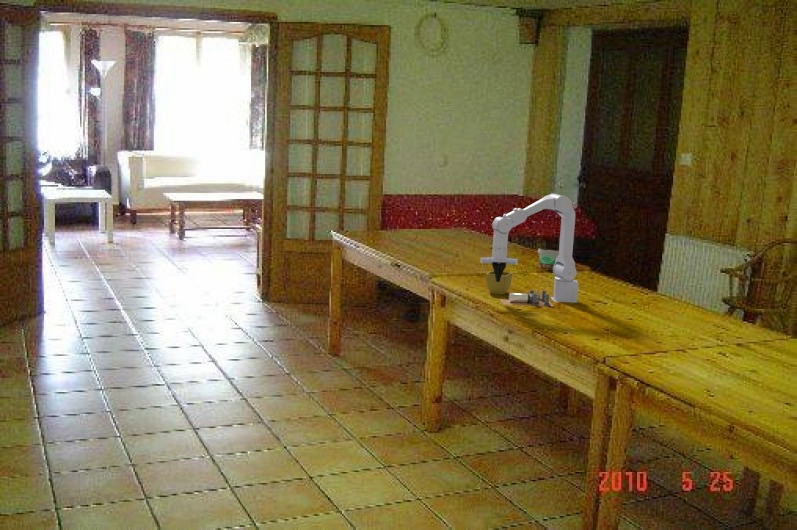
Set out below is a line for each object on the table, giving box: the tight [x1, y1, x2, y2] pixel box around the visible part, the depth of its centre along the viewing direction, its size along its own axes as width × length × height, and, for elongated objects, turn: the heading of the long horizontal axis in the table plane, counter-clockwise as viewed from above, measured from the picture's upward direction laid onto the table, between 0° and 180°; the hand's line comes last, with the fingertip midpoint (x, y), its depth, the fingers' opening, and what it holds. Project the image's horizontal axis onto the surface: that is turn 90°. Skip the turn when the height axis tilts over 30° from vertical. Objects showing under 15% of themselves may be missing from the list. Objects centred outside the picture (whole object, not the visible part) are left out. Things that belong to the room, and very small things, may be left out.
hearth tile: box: [499, 298, 554, 307], centre depth 330 cm, size 20×10×1 cm, turn 91°
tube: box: [508, 292, 541, 303], centre depth 329 cm, size 12×4×4 cm, turn 91°
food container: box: [537, 248, 559, 270], centre depth 402 cm, size 12×6×10 cm, turn 73°
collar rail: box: [528, 289, 552, 307], centre depth 330 cm, size 7×10×4 cm
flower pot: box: [485, 270, 514, 296], centre depth 345 cm, size 9×9×9 cm
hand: (497, 281), depth 328 cm, fingers closed
